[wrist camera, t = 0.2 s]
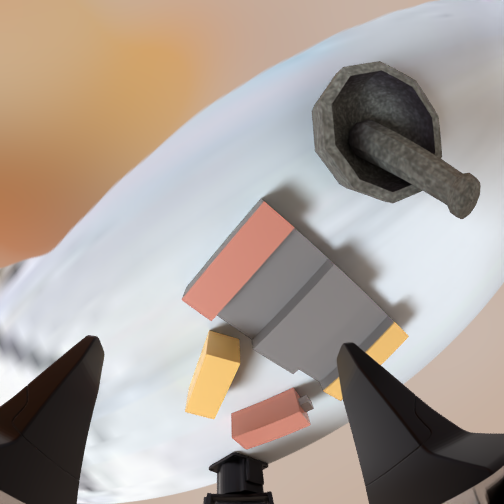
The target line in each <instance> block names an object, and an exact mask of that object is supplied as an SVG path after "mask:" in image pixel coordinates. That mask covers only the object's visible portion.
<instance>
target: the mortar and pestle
mask: <svg viewBox="0 0 504 504" xmlns="http://www.w3.org/2000/svg"><path fill="white" fill-rule="evenodd" d="M312 119H313V131H314V144H315V152H316V153H317V154H318V156H319V157H320V158H321V160H322V161H323V162H324V163H325V165H326V166H327V167H328V169H329V170H330V172H331V173H332V174H333V176H334V177H335V178H336V180H337V181H338V182H339V184H340V185H342V186H344V187H345V188H348V189H351V190H354V191H357V192H360V193H362V194H365V195H368V196H371V197H374V198H376V199H379V200H382V201H385V202H390V203H395V202H397V201H400V200H402V199H404V198H407V197H409V196H411V195H414V194H416V193H419V192H421V191H425V192H426V193H428V194H430V195H431V196H433V197H435V198H436V199H438V200H440V201H441V202H443V203H445V204H446V205H447V206H448V208H449V210H450V213H452V214H453V215H455V216H456V217H458V218H460V219H464V218H465V217H466V216H468V215H469V214H470V213H471V212H472V210H473V209H474V207H475V205H476V203H477V201H478V198H479V195H480V182H479V181H478V180H477V178H476V177H474V176H473V175H472V174H470V173H464V174H462V173H461V172H459V171H458V170H456V169H455V168H454V167H452V166H451V165H449V164H448V163H446V162H445V161H443V160H442V159H441V157H442V151H441V137H440V127H439V118H438V115H437V113H436V112H435V110H434V108H433V107H432V105H431V103H430V102H429V100H428V99H427V97H426V95H425V94H424V92H423V91H422V89H421V88H420V86H419V85H418V83H417V82H416V81H415V80H414V79H412V78H410V77H408V76H407V75H405V74H403V73H401V72H399V71H398V70H396V69H394V68H392V67H390V66H388V65H386V64H384V63H382V62H380V61H379V62H372V63H365V64H359V65H353V66H348V67H343V68H342V69H341V70H340V71H338V72H337V73H336V75H335V76H334V77H333V79H332V80H331V82H330V83H329V85H328V86H327V88H326V89H325V91H324V92H323V93H322V95H321V96H320V98H319V99H318V101H317V102H316V104H315V105H314V107H313V110H312Z"/></svg>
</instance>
